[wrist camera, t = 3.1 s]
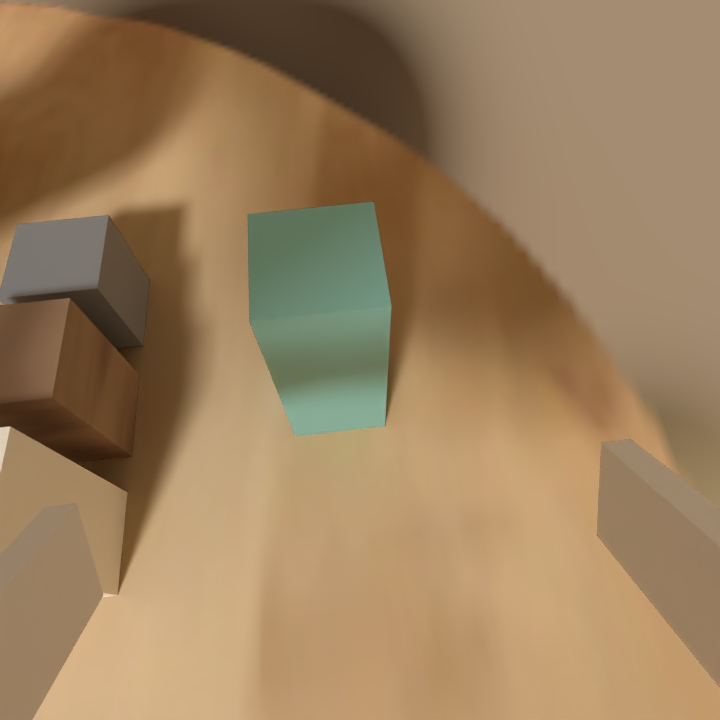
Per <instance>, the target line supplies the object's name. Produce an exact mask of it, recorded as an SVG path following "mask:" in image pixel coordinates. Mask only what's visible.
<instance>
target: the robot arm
mask: <svg viewBox="0 0 720 720" xmlns="http://www.w3.org/2000/svg"><path fill="white" fill-rule="evenodd" d="M597 536H598V537H599V539H600V540H601V541H602V542H603V544H604V545H605V546H606V547H607V549H608V550H609V551H610V552H611V554H612V555H613V556H614V557H615V558H616V560H617V561H618V562H619V563H620V565H621V566H622V567H623V568H624V570H625V571H626V572H627V573H628V575H629V576H630V577H631V578H632V579H633V581H634V582H635V583H636V584H637V586H638V587H639V588H640V589H641V591H642V592H643V593H644V594H645V596H646V597H647V598H648V599H649V601H650V602H651V603H652V604H653V605H654V607H655V608H656V609H657V610H658V612H659V613H660V614H661V615H662V617H663V618H664V619H665V620H666V622H667V623H668V624H669V625H670V626H671V628H672V629H673V630H674V631H675V633H676V634H677V635H678V636H679V638H680V639H681V640H682V641H683V643H684V644H685V645H686V646H687V647H688V649H689V650H690V651H691V652H692V654H693V655H694V656H695V657H696V659H697V660H698V661H699V662H700V664H701V665H702V666H703V667H704V669H705V670H706V671H707V672H708V673H709V675H710V676H711V677H712V678H713V680H714V681H715V682H716V683H717V685H718V686H719V687H720V508H718V507H717V506H716V505H715V504H713V503H712V502H711V501H710V500H708V499H707V498H706V497H704V496H703V495H702V494H701V493H699V492H698V491H697V490H696V489H694V488H693V487H692V486H690V485H689V484H688V483H687V482H685V481H684V480H683V479H681V478H680V477H679V476H678V475H676V474H675V473H674V472H672V471H671V470H670V469H669V468H667V467H666V466H665V465H663V464H662V463H661V462H660V461H658V460H657V459H656V458H654V457H653V456H652V455H651V454H649V453H648V452H647V451H646V450H644V449H643V448H642V447H640V446H639V445H638V444H637V443H635V442H634V441H633V440H631V439H627V440H619V441H610V442H601V457H600V479H599V500H598V521H597ZM102 597H103V591H102V588H101V584H100V581H99V578H98V574H97V571H96V568H95V564H94V561H93V557H92V554H91V551H90V547H89V544H88V540H87V537H86V534H85V530H84V527H83V524H82V520H81V517H80V513H79V510H78V507H77V503H72V504H64V505H55V506H46V507H44V508H43V509H42V510H41V511H40V512H39V513H38V515H37V516H36V517H35V518H34V519H33V520H32V521H31V522H30V523H29V524H28V525H27V526H26V527H25V528H24V530H23V531H22V532H21V533H20V534H19V535H18V536H17V537H16V538H15V539H14V540H13V541H12V542H11V544H10V545H9V546H8V547H7V548H6V549H5V550H4V551H3V552H2V553H1V554H0V720H32V719H33V717H34V716H35V714H36V712H37V710H38V709H39V707H40V705H41V703H42V702H43V700H44V698H45V696H46V695H47V693H48V691H49V689H50V688H51V686H52V684H53V682H54V681H55V679H56V677H57V675H58V674H59V672H60V670H61V668H62V667H63V665H64V663H65V661H66V660H67V658H68V656H69V654H70V653H71V651H72V649H73V647H74V646H75V644H76V642H77V640H78V639H79V637H80V635H81V633H82V632H83V630H84V628H85V626H86V625H87V623H88V621H89V619H90V618H91V616H92V614H93V613H94V611H95V609H96V607H97V606H98V604H99V602H100V600H101V599H102Z"/></svg>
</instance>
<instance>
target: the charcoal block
mask: <svg viewBox="0 0 720 720" xmlns="http://www.w3.org/2000/svg"><path fill="white" fill-rule="evenodd" d="M149 281H150V279H149V278H148V276H147V275H146V273H145V272H144V270H143V268H142V267H141V265H140V264H139V262H138V261H137V259H136V257H135V256H134V254H133V253H132V251H131V250H130V248H129V246H128V245H127V243H126V242H125V240H124V239H123V237H122V235H121V234H120V232H119V231H118V229H117V228H116V226H115V224H114V223H113V221H112V220H111V218H110V216H109V215H104V216H94V217H84V218H74V219H64V220H54V221H44V222H34V223H24V224H17V227H16V230H15V234H14V238H13V242H12V246H11V250H10V253H9V257H8V261H7V265H6V269H5V273H4V277H3V280H2V284H1V288H0V301H1V302H2V303H3V304H4V305H8V304H17V303H27V302H36V301H46V300H55V299H65V298H70V299H71V300H72V301H73V302H74V303H75V304H76V305H77V306H78V307H79V309H80V310H81V311H82V312H83V313H84V314H85V315H86V316H87V317H88V318H89V320H90V321H91V322H92V323H93V324H94V325H95V326H96V327H97V328H98V329H99V331H100V332H101V333H102V334H103V335H104V336H105V337H106V338H107V339H108V340H109V342H110V343H111V344H112V345H113V346H114V347H115V348H116V349H117V348H127V347H136V346H143V344H144V334H145V323H146V313H147V302H148V292H149Z"/></svg>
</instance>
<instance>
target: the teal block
mask: <svg viewBox="0 0 720 720" xmlns="http://www.w3.org/2000/svg"><path fill="white" fill-rule="evenodd" d="M248 265H249V322H250V324H251V327H252V329H253V332H254V334H255V337H256V339H257V342H258V344H259V347H260V349H261V351H262V354H263V356H264V359H265V361H266V364H267V366H268V369H269V371H270V374H271V376H272V379H273V381H274V384H275V386H276V389H277V391H278V394H279V396H280V399H281V401H282V404H283V406H284V409H285V411H286V414H287V416H288V419H289V421H290V424H291V426H292V429H293V431H294V434H295V436H303V435H312V434H321V433H329V432H338V431H346V430H355V429H364V428H372V427H381V426H385V417H386V399H387V380H388V362H389V343H390V325H391V300H390V294H389V288H388V282H387V276H386V271H385V265H384V259H383V253H382V247H381V241H380V235H379V230H378V224H377V218H376V212H375V206H374V201H373V202H363V203H353V204H343V205H333V206H324V207H314V208H304V209H294V210H284V211H275V212H265V213H255V214H248Z"/></svg>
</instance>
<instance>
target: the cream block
mask: <svg viewBox="0 0 720 720" xmlns="http://www.w3.org/2000/svg"><path fill="white" fill-rule="evenodd" d="M72 503H77V507H78V510H79V513H80V517H81V520H82V524H83V527H84V530H85V534H86V537H87V540H88V544H89V547H90V551H91V554H92V557H93V561H94V564H95V568H96V571H97V574H98V578H99V581H100V584H101V588H102V591H103V597H108V596H116V595H118V587H119V576H120V566H121V556H122V545H123V535H124V524H125V514H126V503H127V492H126V491H124V490H122V489H120V488H119V487H117V486H115V485H113V484H111V483H110V482H108V481H106V480H104V479H103V478H101V477H99V476H97V475H96V474H94V473H92V472H90V471H88V470H87V469H85V468H83V467H81V466H80V465H78V464H76V463H74V462H72V461H71V460H69V459H67V458H65V457H64V456H62V455H60V454H58V453H57V452H55V451H53V450H51V449H49V448H48V447H46V446H44V445H42V444H41V443H39V442H37V441H35V440H34V439H32V438H30V437H28V436H26V435H25V434H23V433H21V432H19V431H18V430H16V429H14V428H12V427H11V426H10V427H1V428H0V554H1V553H2V552H3V551H4V550H5V549H6V548H7V547H8V546H9V545H10V544H11V542H12V541H13V540H14V539H15V538H16V537H17V536H18V535H19V534H20V533H21V532H22V531H23V530H24V528H25V527H26V526H27V525H28V524H29V523H30V522H31V521H32V520H33V519H34V518H35V517H36V516H37V515H38V513H39V512H40V511H41V510H42V509H43V508H44V507H46V506H55V505H64V504H72Z"/></svg>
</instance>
